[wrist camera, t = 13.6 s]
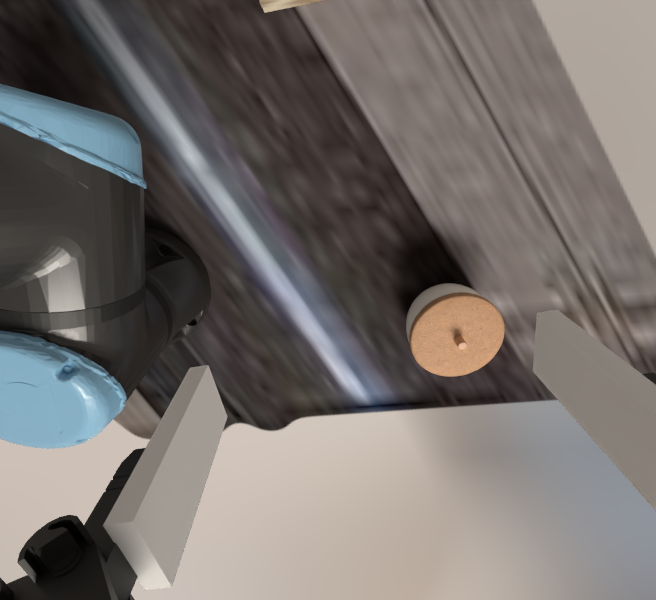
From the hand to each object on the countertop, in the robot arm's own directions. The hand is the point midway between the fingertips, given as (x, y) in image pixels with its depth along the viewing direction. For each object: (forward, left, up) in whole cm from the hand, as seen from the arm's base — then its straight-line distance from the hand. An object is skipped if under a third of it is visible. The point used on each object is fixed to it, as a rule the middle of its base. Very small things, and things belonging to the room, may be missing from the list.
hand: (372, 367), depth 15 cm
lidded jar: (+11, -15, -32) cm, 37 cm away
